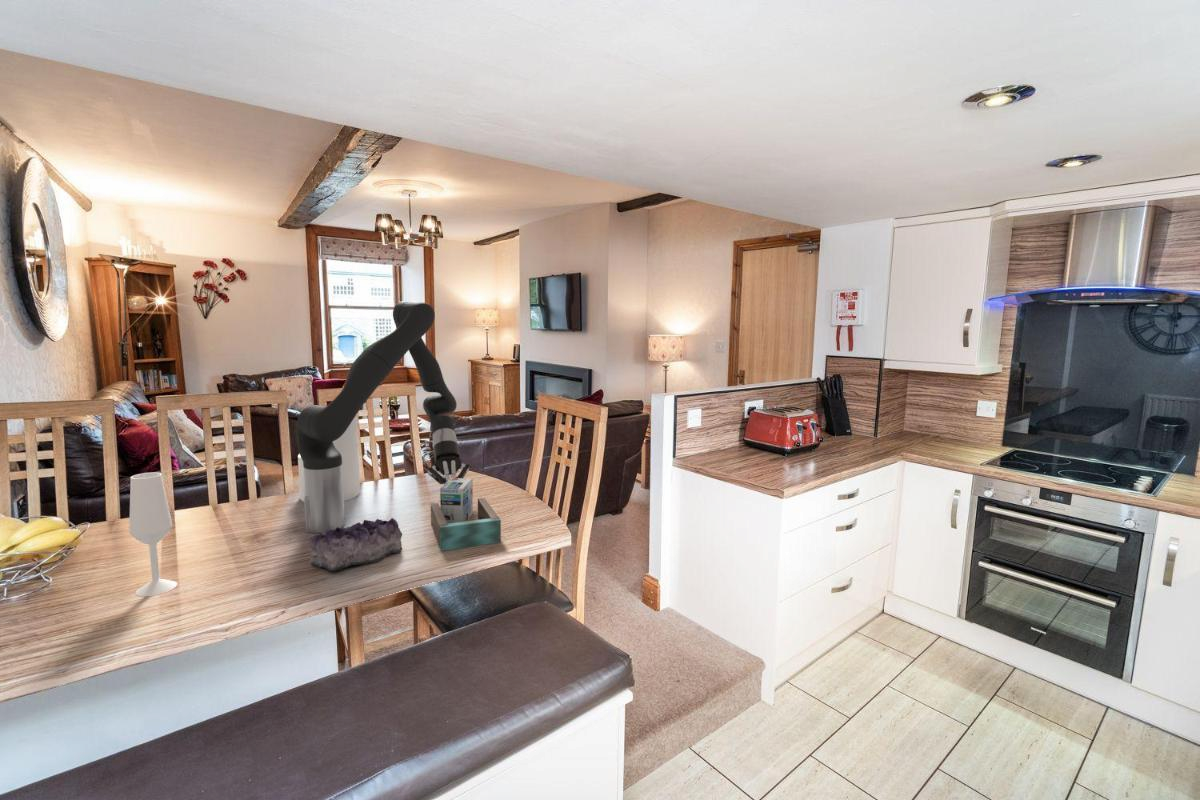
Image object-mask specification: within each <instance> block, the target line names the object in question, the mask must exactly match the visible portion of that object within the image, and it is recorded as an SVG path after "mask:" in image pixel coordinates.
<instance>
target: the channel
mask: <svg viewBox="0 0 1200 800" xmlns="http://www.w3.org/2000/svg"><path fill="white" fill-rule="evenodd" d="M501 521H502V519H501V518H500V516H499V515H498V513H497V512H496V511H495V510H494V509H493V507H492V506H491V505H490V503H489V502H488V501H487V499H486V498H485V497H481V498H477V519H475V520H467V521H465V522H457V523H449V524H447V522H446V519H445V517H444V515H443V513H442V510H441V508H440V504H439V502H435V503H430V526H431V528H432V530H433V533H434V536H435V539H436V542H437V544H438V547H439V550H440V551H441V552H442V551H451V550H457V549H463V548H469V547H477V546H483V545H484V546H485V545H492V544H496V543H497V544H498V543H502V538H501V537H502V536H501V535H502V534H501V533H502V528H501V527H502V523H501Z"/></svg>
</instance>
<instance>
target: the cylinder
mask: <svg viewBox="0 0 1200 800" xmlns="http://www.w3.org/2000/svg"><path fill="white" fill-rule="evenodd" d="M300 413H301V412H299V413H298V414H300ZM358 426H359V424H358V413H357V414H356V416H355V417H354V419H353V421H352V422H351V424H350V425H349V427H348V428H347V430H346V431H345V432H344V434H343V435H342V436H341V437H340V438H338V439H337V440H335V441H333V444H334V446H335V448H336V449H337V450H338V451H339V452H340V454H341V456H342V473H343V496H344V502H346V501H348V500H351V499H354V498H356V497H358V496H359V495H360V494H361V481H360V479H361V478H360V455H359V454H360V453H359V451H360V450H359V449H360V448H359V431H358V428H359V427H358ZM297 465H298V467H297V468H298V483H299V499H300V501H301V502H303V503H304V497H305V486H304V468H303V460H302V458H301V456H300V453H298V455H297Z"/></svg>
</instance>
